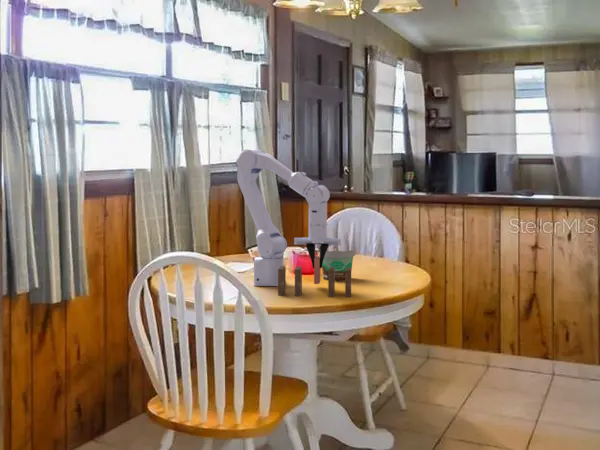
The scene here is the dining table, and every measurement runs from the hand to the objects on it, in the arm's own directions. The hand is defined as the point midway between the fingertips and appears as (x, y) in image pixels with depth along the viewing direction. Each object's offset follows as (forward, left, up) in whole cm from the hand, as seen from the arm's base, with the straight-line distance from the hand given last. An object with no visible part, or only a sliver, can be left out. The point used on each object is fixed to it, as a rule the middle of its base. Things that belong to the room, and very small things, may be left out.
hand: (317, 267), depth 222 cm
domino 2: (-5, -10, -7) cm, 13 cm away
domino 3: (0, 0, -5) cm, 5 cm away
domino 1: (-10, -10, -7) cm, 16 cm away
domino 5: (+10, -10, -7) cm, 16 cm away
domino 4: (+5, -10, -7) cm, 13 cm away
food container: (+6, +15, -7) cm, 18 cm away
